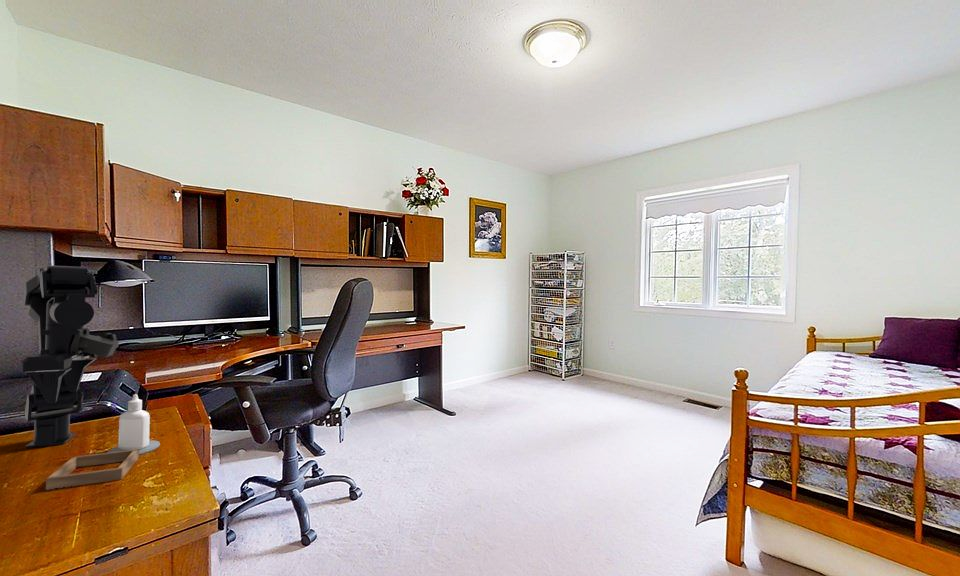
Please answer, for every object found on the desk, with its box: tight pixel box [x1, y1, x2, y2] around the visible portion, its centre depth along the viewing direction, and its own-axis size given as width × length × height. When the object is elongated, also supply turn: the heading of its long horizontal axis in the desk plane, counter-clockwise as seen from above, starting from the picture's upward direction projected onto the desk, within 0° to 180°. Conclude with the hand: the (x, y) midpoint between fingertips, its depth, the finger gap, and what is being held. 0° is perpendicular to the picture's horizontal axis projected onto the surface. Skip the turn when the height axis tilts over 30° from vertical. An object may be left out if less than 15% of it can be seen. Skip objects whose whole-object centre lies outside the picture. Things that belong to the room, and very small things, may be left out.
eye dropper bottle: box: [117, 393, 151, 450], centre depth 91 cm, size 4×6×12 cm
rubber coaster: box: [107, 439, 161, 456], centre depth 91 cm, size 9×9×1 cm
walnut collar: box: [45, 449, 140, 491], centre depth 80 cm, size 11×11×2 cm
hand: (63, 396), depth 86 cm, fingers open, 9 cm apart
